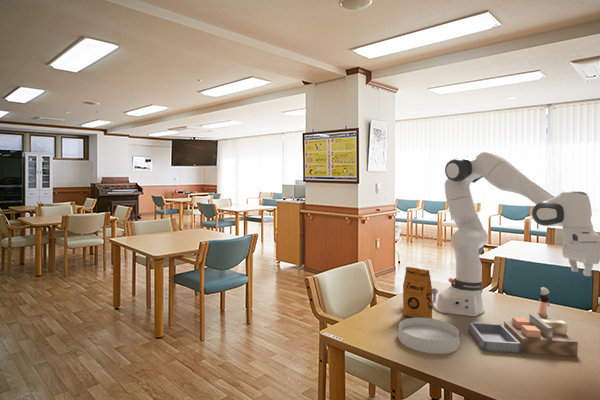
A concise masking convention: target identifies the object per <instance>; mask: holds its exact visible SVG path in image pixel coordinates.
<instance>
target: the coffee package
mask: <svg viewBox="0 0 600 400" xmlns="http://www.w3.org/2000/svg"><path fill="white" fill-rule="evenodd" d="M402 284H403V285H402V302H403V304H402V305H403V306H402V315H403V316H406V317H409V318H430V319H433V311H434V310H433V308H434V307H433V294H432V289H433V286H432V279H431V274H430V270H429V269H422V268H418V267H413V266H412V267H411V266H406V267H405V274H404V280H403V283H402Z"/></svg>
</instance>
